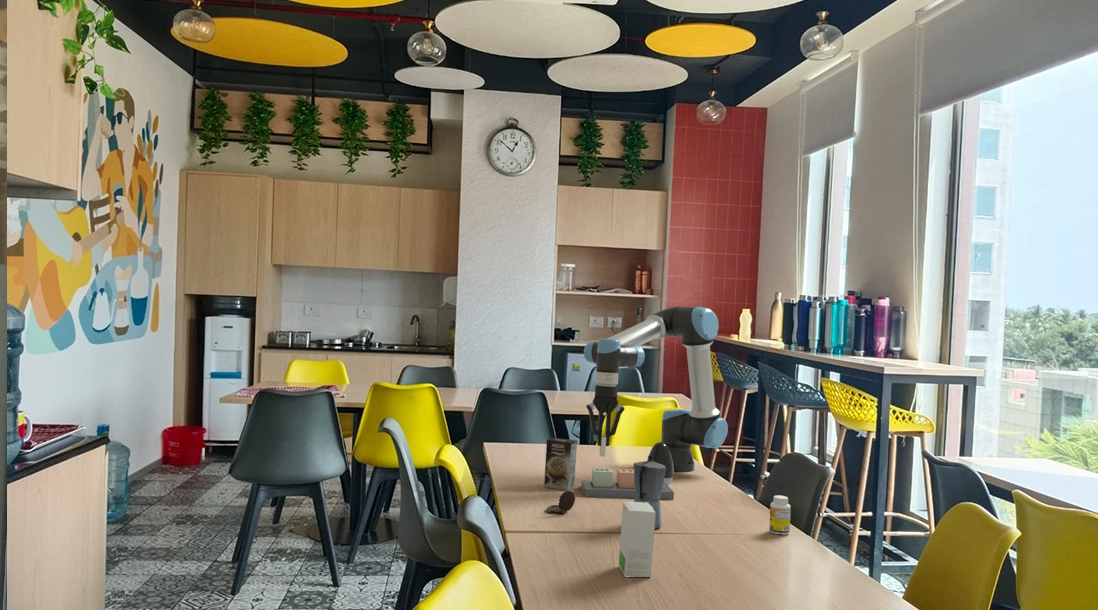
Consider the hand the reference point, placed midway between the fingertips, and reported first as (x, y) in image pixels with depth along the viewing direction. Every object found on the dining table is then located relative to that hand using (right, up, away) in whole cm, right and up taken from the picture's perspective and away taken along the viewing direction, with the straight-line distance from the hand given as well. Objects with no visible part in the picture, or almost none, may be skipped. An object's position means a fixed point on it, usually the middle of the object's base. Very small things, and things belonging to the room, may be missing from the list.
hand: (602, 455), depth 267 cm
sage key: (0, -10, 0) cm, 10 cm away
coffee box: (-14, -12, +5) cm, 19 cm away
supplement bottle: (+48, -15, -39) cm, 63 cm away
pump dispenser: (+21, -14, +17) cm, 30 cm away
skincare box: (+2, -12, -80) cm, 81 cm away
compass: (-16, -12, -29) cm, 35 cm away
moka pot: (+10, -13, -39) cm, 42 cm away
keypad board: (+8, -13, +1) cm, 15 cm away
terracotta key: (+8, -10, +1) cm, 13 cm away
